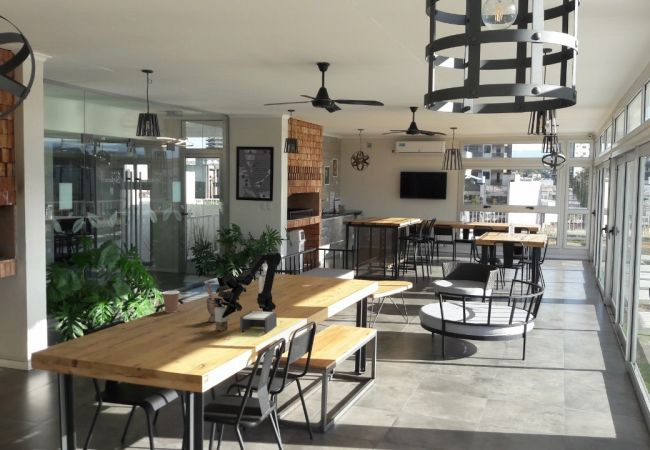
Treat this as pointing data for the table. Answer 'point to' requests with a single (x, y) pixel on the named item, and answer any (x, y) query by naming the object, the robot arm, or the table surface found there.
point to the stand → (221, 325)
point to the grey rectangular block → (220, 314)
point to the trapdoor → (257, 315)
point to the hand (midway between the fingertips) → (219, 316)
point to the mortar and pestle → (211, 304)
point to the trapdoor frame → (259, 322)
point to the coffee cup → (171, 300)
